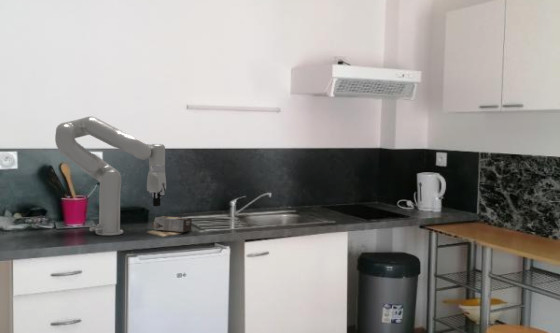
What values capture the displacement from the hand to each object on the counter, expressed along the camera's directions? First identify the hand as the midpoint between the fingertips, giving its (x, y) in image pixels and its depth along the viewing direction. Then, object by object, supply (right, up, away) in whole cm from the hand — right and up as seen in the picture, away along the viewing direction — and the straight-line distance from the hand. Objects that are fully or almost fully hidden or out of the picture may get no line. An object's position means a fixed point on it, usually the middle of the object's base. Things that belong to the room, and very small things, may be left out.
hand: (156, 205), depth 263 cm
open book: (+4, -13, -4) cm, 14 cm away
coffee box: (0, -9, +3) cm, 9 cm away
